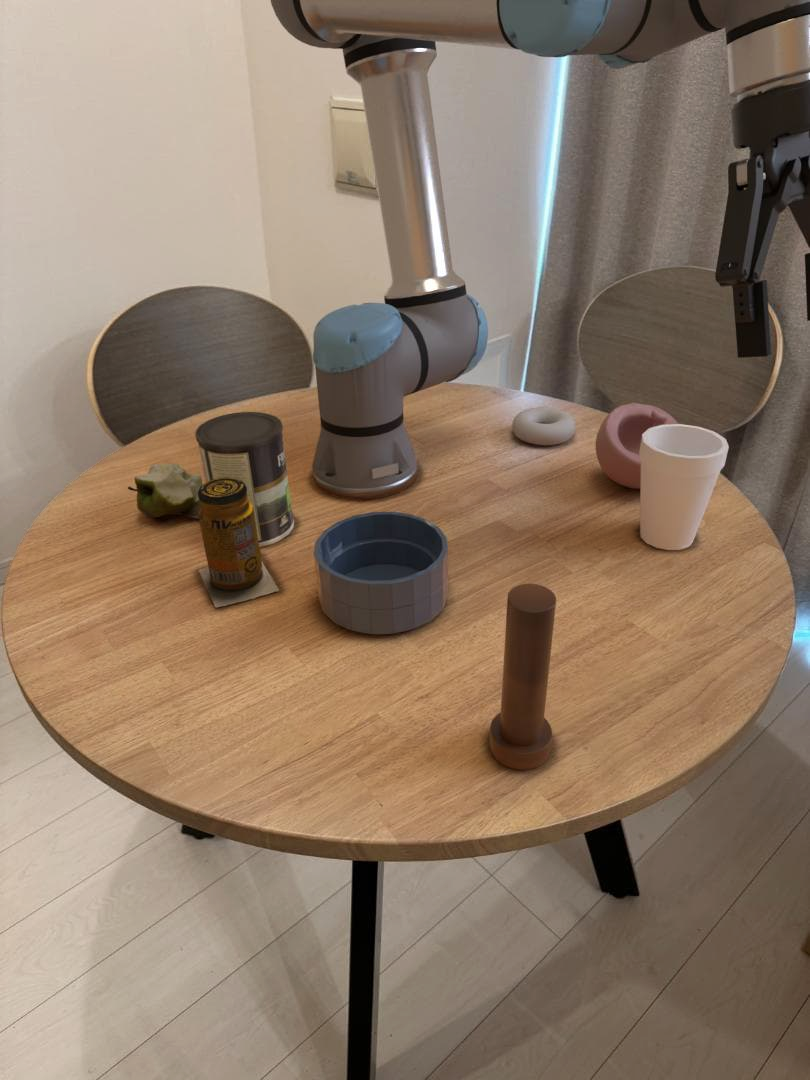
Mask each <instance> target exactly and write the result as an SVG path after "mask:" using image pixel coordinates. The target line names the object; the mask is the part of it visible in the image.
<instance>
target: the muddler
mask: <svg viewBox="0 0 810 1080" xmlns="http://www.w3.org/2000/svg"><path fill="white" fill-rule="evenodd" d="M506 599H507V600H506V602H507V603H506V614H505V615H506V618H505V634H504V635H505V636H504V649H503V651H504V652H503V666H502V667H503V668H502V684H501V697H500V698H501V702H500V712H498V713H497V714H496V715H495V716H494V717H493V718H492V720H491V723H490V726H489V729H490V730H489V750H490V752H491V754H492V756H493V757H494V759H495V760H496V761H498V762H499V763H500V764H502V765H503V766H505V767H507V768H510V769H512V770H519V771H525V770H533V769H536V768H539V767H540V766H541V765H543V764H544V763H545V762H546V761H547V760H548V758H549V757H550V754H551V746H552V738H553V730H552V725H551V724H550V722H549V720H547V718H546V717H545V711H546V703H547V693H548V684H549V674H550V665H551V655H552V645H553V635H554V625H555V617H556V616H555V615H556V608H557V607H556V606H557V596H556V594H555V593H554V592H553V591H552V590H551V589H550V588H549V587H546V586H545V585H542V584H538V583H522V584H518V585H515V586H513V587H511V589H510V590H509V591H508V593H507V598H506Z"/></svg>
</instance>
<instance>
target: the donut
mask: <svg viewBox="0 0 810 1080" xmlns="http://www.w3.org/2000/svg"><path fill="white" fill-rule="evenodd" d="M511 429H512V432H513V434H514V435H515V437H516V438H518V439H519V440H520V441H522V442H524V443H528V444H530V445H535V446H555V445H559V444H563V443H565V442H567V441H569V440H570V439H572V437H573V436H574V434H575V433H576V430H577V427H576V421H575V418H573V417H572V415H570V414H569V413H567V412H566V411H564V410H561V409H557V408H553V407H544V406H542V407H541V406H539V407H532V408H528V409H524V410H522V411H520V412H519V413H517V414H516V416H514V418H513V420H512V425H511Z"/></svg>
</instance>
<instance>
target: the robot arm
mask: <svg viewBox="0 0 810 1080" xmlns="http://www.w3.org/2000/svg"><path fill="white" fill-rule="evenodd" d="M270 4H271V7H272V9H273V12H274V14H275V17H276V18H277V19H278V21H279V23H280V25H281V26H282V27H283V28H284V29H285V30H286V32H287V33H288V34H290V35H291V36H292V37H293V38H294V39H295V40H297V41H299V42H301V43H303V44H305V45H308V46H310V47H315V48H319V49H334V50H342V56H343V61H344V66H345V73H346V75H348V76H349V77H350V78H351V79H353V80H354V81H355V82H356V83H357V84H358V85H359V87H360V90H361V96H362V103H363V109H364V116H365V122H366V126H367V127H366V128H367V133H368V140H369V145H370V152H371V158H372V164H373V170H374V176H375V183H376V189H377V195H378V200H379V201H378V202H379V207H380V208H379V209H380V213H381V214H380V215H381V220H382V226H383V233H384V239H385V245H386V251H387V257H388V264H389V269H390V276H391V283H390V285H389V286H388V288H387V290H386V291H385V292H384V294H383V300H384V303H382V302H363V303H362V304H350V305H347V306H344V307H343V306H342V307H340V308H337V309H335V310H333V311H331V312H329V313H327V314H326V315H324V316H322V318H320V319H319V321H318V322H317V324H316V325H315V327H314V331H313V337H312V338H313V339H312V340H313V351H312V360H313V363H314V369H315V378H316V388H317V389H316V390H317V400H318V409H319V421H320V431H319V435H318V439H317V444H316V447H315V450H314V451H315V452H314V455H313V459H312V465H311V471H312V480H313V483H314V485H315V486H316V487H317V488H318V489H319V490H321V491H322V492H323V493H326V494H327V495H331V496H333V497H337V498H342V499H347V500H372V499H373V500H374V499H381V498H384V497H385V498H386V497H388V496H392V495H395V494H398V493H401V492H402V491H404V490H407V488H409V487H411V485H412V484H414V483H415V481H416V480H417V478H418V473H419V471H418V459H417V456H416V453H415V451H414V447H413V445H412V443H411V440H410V437H409V434H408V432H407V429H406V426H405V422H404V398H405V397H407V396H410V395H412V394H415V393H418V392H421V391H424V390H426V389H429V388H431V387H434V386H437V385H440V384H443V383H449V382H450V383H451V382H453V381H454V380H457V379H458V378H460V377H461V376H463V375H465V374H467V373H469V372H471V371H472V370H474V369H475V368H476V367H477V366H478V364H479V363H480V361H481V360H482V358H483V357H484V354H485V352H486V349H487V346H488V341H489V340H488V339H489V327H488V319H487V317H486V314H485V311H484V309H483V308H482V307H479V302H478V300H477V299H475V297H473V296H472V295H470V294H468V293H467V286H466V281H465V280H464V279H463V278H462V277H460V276H459V275H458V274H456V272H455V271H454V270H453V264H452V263H453V262H452V254H451V247H450V240H449V232H448V231H449V230H448V223H447V217H446V208H445V201H444V200H445V199H444V193H443V187H442V186H443V185H442V179H441V178H442V177H441V170H440V163H439V155H438V147H437V139H436V131H435V124H434V117H433V109H432V108H433V107H432V100H431V94H430V93H431V92H430V85H429V77H428V73H429V70H430V68H431V66H432V65H433V63H434V61H435V60H436V58H437V56H438V55H437V54H438V53H437V46H436V42H438V43H447V44H457V45H468V46H479V47H489V48H499V49H509V50H517V51H518V50H519V51H522V52H523V53H525V54H529V55H534V56H537V57H542V58H564V57H567V56H584V55H585V56H586V55H587V56H588V55H589V56H590V55H591V56H592V55H595V56H596V57H597V58H598V59H599V61H600V60H601V61H602V62H604V63H605V65H606V67H608V68H610V69H614V70H621V69H624V68H627V67H630V66H633V65H636V64H645V63H647V62H650V61H652V60H653V59H654V58H655V57H657V56H660V55H662V54H665V53H667V52H669V51H671V50H674V49H676V48H679V47H681V46H684V45H686V44H689V43H691V42H692V41H696V40H698V39H701V38H702V37H704V36H707V35H709V34H711V33H716V32H718V31H721V30H723V29H724V31H725V32H724V33H725V42H726V43H725V44H726V55H727V56H726V57H727V73H728V74H727V75H728V90H729V96H730V97H731V98H736V101H737V102H736V103H734V104H733V105H732V108H731V109H730V115H731V116H730V117H731V129H732V131H731V132H732V144H733V147H734V148H735V149H737V150H743V149H747V148H748V149H749V156H748V158H744V159H741V160H737V161H733V162H730V163H729V164H728V166H727V185H728V186H727V189H728V191H727V199H726V205H725V209H724V210H725V211H724V218H723V223H722V230H721V234H720V242H719V243H720V244H719V249H718V253H717V254H718V255H717V260H716V261H717V262H716V268H715V272H714V273H715V274H714V278H715V279H714V280H715V282H716V283H718V285H719V286H720V287H721V288H724V287H732V297H733V299H732V300H733V312H734V323H735V338H736V351H737V358H738V359H739V358H740V359H741V358H761V357H762V358H764V357H768V356H771V355H772V346H771V331H770V330H771V328H770V313H769V312H770V311H769V297H768V296H769V295H768V294H769V293H768V280H767V279H762V280H761V276H762V273H763V270H764V267H765V263H766V259H767V257H768V253H769V250H770V246H771V243H772V240H773V236H774V233H775V229H776V226H777V224H778V219H779V216H780V214H781V213H782V212H784V211H785V210H786V209H787V207H788V209H789V211H790V212H791V214H792V216H793V218H794V220H795V222H796V224H797V226H798V229H799V230H800V232H801V234H802V236H803V238H804V240H805V242H806V244H807V246H808V249H810V0H270ZM804 270H805V271H804V273H805V294H806V295H805V297H806V320H807V322H810V252H807V253H804Z"/></svg>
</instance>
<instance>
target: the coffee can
mask: <svg viewBox="0 0 810 1080" xmlns="http://www.w3.org/2000/svg"><path fill="white" fill-rule="evenodd" d="M283 429H284V428H283V423H282V421H281V419H280V418H279V417H277V416H275V415H273V414H269V413H266V412H258V411H241V412H233V413H227V414H222V415H218V416H216V417H213V418H210V419H208V420H206V421H205V422H203V423H201V424H200V425H199V426H198V427H197V428H196V429H195V432H194V435H195V436H194V437H195V440H196V442H197V443H198V449H199V455H200V459H201V465H202V469H203V470H202V471H203V474H204V481H205V483H206V482H208V481H210V480H213V479H217V478H226V477H229V478H230V477H231V478H236V479H239V480H241V481H243V482H244V483H245V485H246V487H247V494H248V497H249V502H250V503H251V504H252V506H253V508H254V515H255V522H256V530H257V536H258V542H259V547H260V548H262V547H267V546H271V545H273V544H276V543H278V542H280V541H281V540H283V539H285V538H286V537H287V536H289V535H290V534H291V532H292V531H293V529H294V527H295V520H294V515H293V509H292V507H293V506H292V500H291V492H290V486H289V484H290V483H289V477H288V469H287V468H288V467H287V461H286V452H285V445H284V437H283V431H284V430H283Z"/></svg>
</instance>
